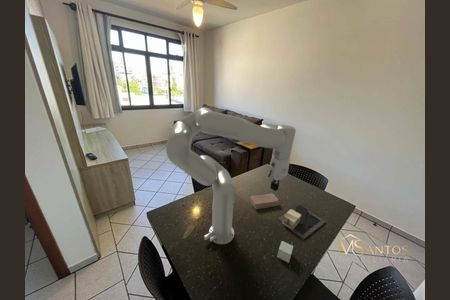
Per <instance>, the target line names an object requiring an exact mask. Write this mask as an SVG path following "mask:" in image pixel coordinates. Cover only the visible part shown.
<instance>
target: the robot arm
mask: <svg viewBox="0 0 450 300" xmlns="http://www.w3.org/2000/svg"><path fill="white" fill-rule="evenodd" d="M200 132H201V133H202V134H207V135H212V136H218V137H223V138H229V139H234V140H237V141H239V142H243V143H245V144H249V145H253V146H256V147H260V148H267V149H272V154H271V158H270V162H269V166H268V170H267V171H268V172H267V177H268V182H270V186H269V187H270V188H269V189H271V190H273V192H274V191H275V192H277V191H278V190H279V186H280V183H281V179H283V178H285V177H288V176H287V175H288V174H289V169H290V168H289V167H290V157H291V154H292V151H293V150H292V148H293V144H294V140H295V135H296V128H295V127H294V126H291V125H285V124H282V125H277V124H272V123H271V124H270V123H262V124H261V125H259V124H256V123H253V122H251V121H249V120H247V119H246V118H242V117H240V116H236V115H230V114H226V113H221V112H218V111H217V112H216V111H213V110H212V109H211V108H208V107H200V108H199V109H198V108H197V110H195V111H193V112H192V113H190V114H188V115H187V116H185V117H183V118H181V119H180V120H178V121H176V123H174V124H173V125H172V126H171V128H170V131H169V133H168V137H167V142H166V147H165V148H166V151H165V152H166V156H167V157H168V158H167V159H168V160H169V161H170V162H171V163H172V164H173V165H174V166H175V167H177V168H178V169H180V170H182V172H184V173H186V174H187V175H188V176H190V177H191V178H192V179H194V180H195V181H197V182H198V183H199V184H201V185H202V186H208V187H209V186H211V188H212V193H213V197H212V211H211V213H212V214H211V215H212V216H211V218H212V219H211V226H210V228H209V229H208V233H207V234H205V235H203V239H204V240H205V241H207V240H208V239H209V241H210V242H212V243H215V244H217V245H226V244H229V243H230V242H232V240H233V239H234V238H235V229H234V228H233V213H234V201H235V198H236V193H237V190H236V189H237V188H236V186H235V182H234V181H233V178H232V176H231V174H230V173H229V171H228V170H227V169H226V168H225V167H224V166H222V165H221V164H220V163H219V162H218V161H216V160H215V159H214V158H212V157H211V156H209V155H206V154H203V155H202V154H201V155H199V154H198V153H197V152H195V151H193V150H192V149H191V146H192V144H193V143H192V142H193V137H195V135H197V134H199V133H200Z"/></svg>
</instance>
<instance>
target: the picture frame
mask: <svg viewBox="0 0 450 300" xmlns="http://www.w3.org/2000/svg"><path fill="white" fill-rule="evenodd" d="M292 210H294V211H296V212H297V213H299V214H301V218H300V222H299V223H298V224H297V225H296V226H295V228H294V229H293V230H292V229H291V228H289V227H287V226H286V225H284V224H283V223H282V221H283V216H284V215H285V214H286V213H284V214H282V215H281V216H279V217H278V218H277V221H279V222H280V223H281V224H283V225H284V226H285V227H286V228H288V229H289V230H290V231H291V232H293V233H294V234H295V235H296V236H298V238H300V239H302V240H303V241H304V240H305V239H306V238H308V237H309V236H310V235H312V234H313V233H314V232H315V231H317V230H318V229H320V228H321V227H322V226H323V225H325V224H326V221H325V220H324V219H322V218H321V217H319V216H318V215H315V214H314V213H313V212H312V211H310V210H308V209H307V208H306V207H305V206H303V205H302V204H299V205H297V206H296V207H294V208H293V209H292Z"/></svg>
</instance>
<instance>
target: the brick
mask: <svg viewBox="0 0 450 300" xmlns="http://www.w3.org/2000/svg"><path fill="white" fill-rule="evenodd" d="M249 202H250V204H251V206H252V207H253V208H254V209H255V210H260V209H261V210H262V209H266V208H272V207H278V206H279V204H280V202H279V199H278V197H276V195H275V194H274V193H266V194H259V195H257V194H256V195H250V198H249Z"/></svg>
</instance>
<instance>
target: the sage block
mask: <svg viewBox="0 0 450 300" xmlns="http://www.w3.org/2000/svg"><path fill="white" fill-rule="evenodd" d="M293 249H294V245H293V244H289V243H288V242H286V241H283V240H281V242H280V245H279V248H278V251H277V256H276V258H279V260H282V261H284V262H287V263H288V264H290V260H291V257H292V254H293Z"/></svg>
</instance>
